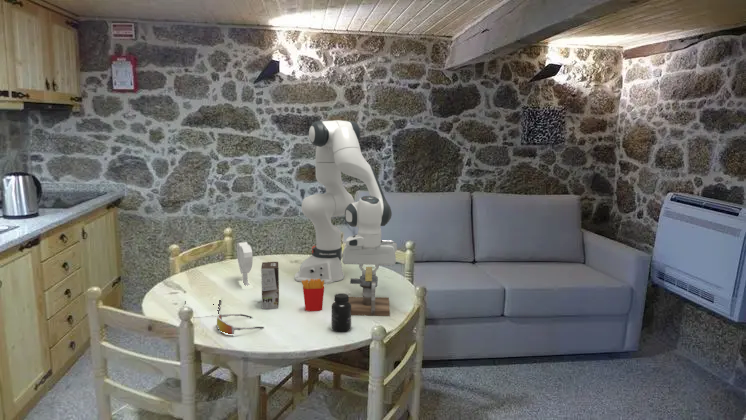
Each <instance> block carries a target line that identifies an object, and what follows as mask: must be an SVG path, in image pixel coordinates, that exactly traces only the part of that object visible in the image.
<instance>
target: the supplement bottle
mask: <svg viewBox="0 0 746 420" xmlns="http://www.w3.org/2000/svg"><path fill="white" fill-rule="evenodd" d="M349 297H350V296H349V294H347V293H336V294H335V295H334V299H333V300H334V301H333V303H332V305H331V324H330V325H331V330H333V331H334V332H336V333H337V332H338V333H346V332H349V331H350V330H351V328H352V315H351V304H350V303H349V302H348V301H349Z"/></svg>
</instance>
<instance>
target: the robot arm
mask: <svg viewBox="0 0 746 420" xmlns="http://www.w3.org/2000/svg"><path fill="white" fill-rule="evenodd" d="M308 130H309V131H308V138H309V140H310V143H311V144H312V145H313V146H316V149H315V162H314V163H315V179H316V181H317V182H318V183H320V184H321V185H323V186H324V189H325V191H326V192H325V193H323V192H322V193H314V194H312V195H308V196H306V197H304V198H303V200H302V202H301V211H302V214H303V216H304V217H305V218H307V219H308V221H310V222H311V223H312V224H313V227H314V231H315V243H316V245H313V246H312V247H311V255H310V256H309V257H308V258H306V259H305V260H303V261H302V262H301V263H300V266H299V269H298V270H299V271H297V272H295V274H294V280H295V281H296V282H301V283H302V281H305V280H308V283H309V281H310V279H314V280H315V279H320V280H321V282H322V281H323V280H324V285H326V284H327V285H328V284H330V283H333V282H338V281H341V280H343V279H344V278H345V275H344V272H343V270H344V269H343V265H342V263H343V264H344V265H358V268H359V270H360V271H361V276H365V274H366V269H364V265H368V266H369V265H372V266H373V265H374V266H375V267H374V269H372V276H374V275H375V276H377V274H376V273H377V272H378V270H379V267H380V266H394V265H395V264H396V263H397V260H396V258H397V256H396V252H397V250H398V244H397V242H396V241H393V240H392V239H390V240H389V239H388V240H384V239H382V228H381V227H385V226H386V225H387V224H388V223H389V222H390V220H391V219H392V215H393V214H392V209H391V206H390V204H389V203H388V201H387V199H386V197H385V194H384V191H383V189H382V187H381V184H380V182H379V179H378V176H377V174H376V171H375V169H374V167H373V165H372V164H370V163H369V162H367V160H366V158H365V157H364V156H363V153H362V149H361V146H360V143H359V142H360V139H361V128H360V126H359V123H357V122H355V121H352V120H341V119H334V120H324V121H322V120H318V121H313V122H312V123H311V125H310V126H309V129H308ZM342 174H344V175H346V176H349V177H352V178H355V179H358V180H360V181H361V182H363V183H364V184H365V186H366V188H367V190H368V193H369V195H363V196H361V197H360V198H359V200H358V201H355V199H354V197H353V196H352V194H351V193H349V192H348V191H347V189H346V188H345V185H344V183H343V181H342V180H343V179H342ZM343 216H344V220H345V222H346V223H347V224H348V225H349V226H350V227H352V228H353V227H354V228H358V230H357V233H356V234H353V235H350V236H349V235H348V236H347V238H346V239H345V245H344V247H343V249H342V244H341V243H342V241H341V240H342V232H341V230H340V228H339V227H337V226H336V225H334V224H333V223H332V218H335V217H343ZM314 282H315V281H314Z"/></svg>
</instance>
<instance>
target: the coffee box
mask: <svg viewBox="0 0 746 420" xmlns="http://www.w3.org/2000/svg"><path fill="white" fill-rule="evenodd" d="M260 272H261V274H260V275H261V309H262V310H269V309H271V310H272V309H276V310H277V309H279V305H280V276H279V275H280V272H279V261H265V262H264V261H263V262H261V269H260Z"/></svg>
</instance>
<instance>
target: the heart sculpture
mask: <svg viewBox="0 0 746 420" xmlns="http://www.w3.org/2000/svg"><path fill="white" fill-rule="evenodd" d="M236 257H237V262H238V267H239V272H240V274H242V280H243V283H244V285H245V286H246V285H247V286H248V285H250V284H249V283H248V280H249V279H248V278H249V277H248V274H249V273H250V272H251V270H252V267H253V250H252V246H251V245H250V244H248V242H247V241H244V242H242V241H241V242H237V243H236Z"/></svg>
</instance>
